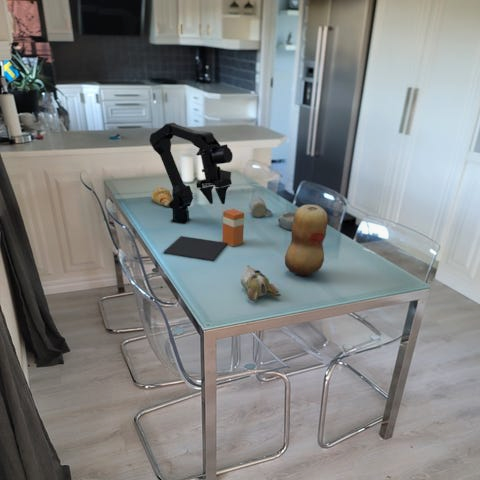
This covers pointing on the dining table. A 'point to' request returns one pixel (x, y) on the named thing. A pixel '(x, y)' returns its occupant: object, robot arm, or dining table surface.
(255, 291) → the ceramic sculpture
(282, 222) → the dish
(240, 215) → the packet
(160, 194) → the croissant
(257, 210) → the ceramic mug
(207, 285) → the dining table surface
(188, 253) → the mat
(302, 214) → the butternut squash
